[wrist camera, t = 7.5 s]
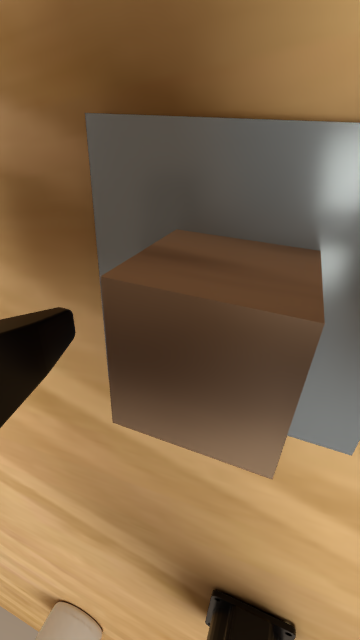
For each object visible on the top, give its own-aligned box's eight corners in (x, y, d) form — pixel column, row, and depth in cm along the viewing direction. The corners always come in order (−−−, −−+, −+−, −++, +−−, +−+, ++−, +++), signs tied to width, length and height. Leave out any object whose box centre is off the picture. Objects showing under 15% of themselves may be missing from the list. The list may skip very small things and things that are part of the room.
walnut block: (286, 371, 13) (272, 479, 9) (171, 341, 14) (112, 422, 10) (320, 250, 10) (324, 323, 6) (176, 229, 11) (100, 276, 7)
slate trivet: (350, 441, 14) (351, 455, 13) (116, 370, 17) (108, 379, 17) (502, 129, 8) (519, 128, 7) (98, 114, 11) (84, 112, 11)
